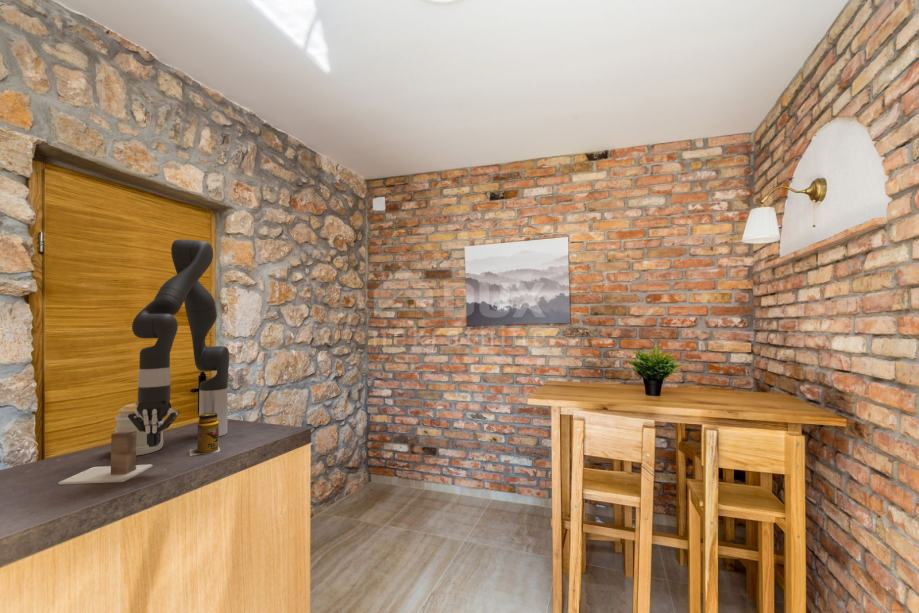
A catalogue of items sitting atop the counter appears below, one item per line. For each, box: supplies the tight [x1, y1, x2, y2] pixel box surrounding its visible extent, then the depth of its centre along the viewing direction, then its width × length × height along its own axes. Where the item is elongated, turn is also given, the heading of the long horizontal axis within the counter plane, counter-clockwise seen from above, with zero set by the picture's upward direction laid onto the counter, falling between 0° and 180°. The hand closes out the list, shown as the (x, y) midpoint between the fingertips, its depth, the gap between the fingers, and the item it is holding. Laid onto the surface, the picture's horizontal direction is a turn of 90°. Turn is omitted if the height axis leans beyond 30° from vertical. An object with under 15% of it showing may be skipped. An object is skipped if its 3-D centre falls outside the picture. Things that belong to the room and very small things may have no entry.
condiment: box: [189, 413, 221, 457], centre depth 139 cm, size 7×8×12 cm
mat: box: [58, 464, 153, 485], centre depth 117 cm, size 12×16×1 cm
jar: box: [114, 397, 164, 457], centre depth 140 cm, size 13×13×18 cm
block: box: [110, 430, 137, 475], centre depth 118 cm, size 4×4×11 cm
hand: (153, 446), depth 119 cm, fingers closed
